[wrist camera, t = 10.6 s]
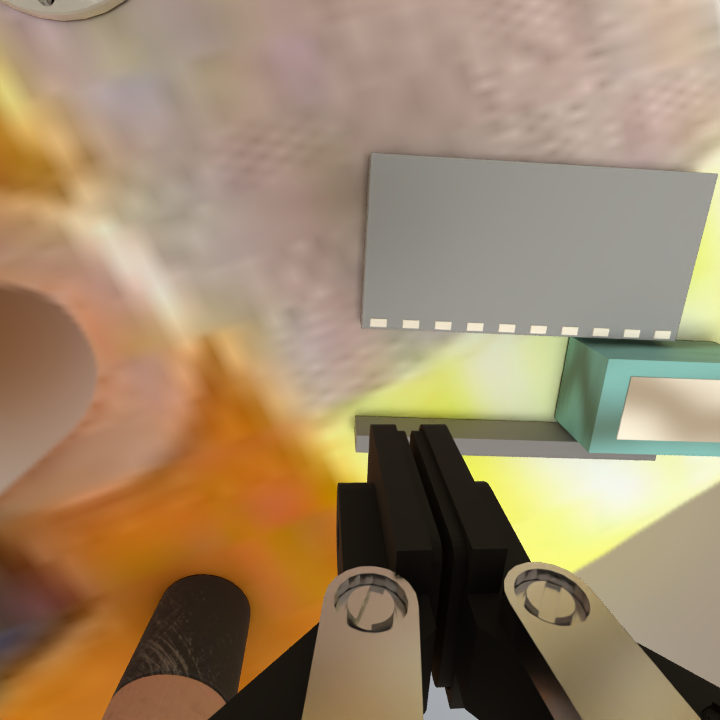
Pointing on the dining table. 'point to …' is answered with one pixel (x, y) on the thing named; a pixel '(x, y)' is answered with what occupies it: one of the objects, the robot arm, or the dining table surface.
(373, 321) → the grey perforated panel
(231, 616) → the travel mug
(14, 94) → the dining table surface
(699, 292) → the dining table surface
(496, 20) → the dining table surface
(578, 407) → the teal rectangular box
